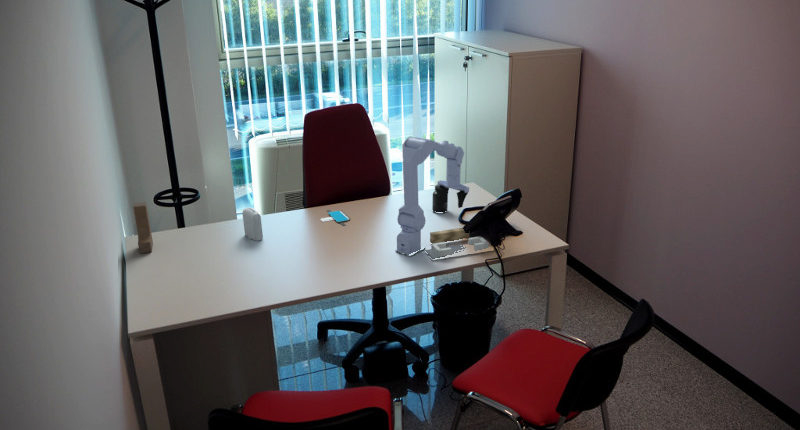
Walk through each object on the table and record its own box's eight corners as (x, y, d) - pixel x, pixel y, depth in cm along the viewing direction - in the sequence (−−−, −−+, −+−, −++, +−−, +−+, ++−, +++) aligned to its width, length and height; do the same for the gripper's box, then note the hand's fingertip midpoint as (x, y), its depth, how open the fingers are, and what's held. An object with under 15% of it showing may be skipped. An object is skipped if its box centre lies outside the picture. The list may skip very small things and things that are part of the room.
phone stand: (314, 214, 288) (314, 210, 287) (339, 209, 292) (338, 206, 292) (329, 229, 271) (329, 226, 270) (355, 224, 276) (355, 221, 275)
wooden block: (151, 252, 250) (144, 209, 243) (139, 254, 249) (131, 211, 242) (153, 243, 258) (146, 201, 251) (141, 244, 257) (134, 203, 250)
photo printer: (243, 234, 266) (240, 206, 261) (252, 231, 268) (249, 204, 264) (255, 242, 258) (252, 213, 254) (264, 239, 261) (261, 211, 256)
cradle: (432, 261, 241) (432, 252, 239) (424, 252, 248) (424, 244, 246) (494, 250, 248) (495, 242, 247) (485, 242, 255) (485, 234, 254)
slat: (432, 246, 253) (432, 234, 252) (430, 244, 255) (430, 232, 254) (469, 240, 258) (469, 229, 256) (466, 238, 260) (466, 227, 258)
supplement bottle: (447, 214, 284) (448, 188, 280) (432, 214, 285) (432, 188, 280) (447, 208, 291) (447, 183, 286) (432, 208, 291) (432, 183, 287)
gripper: (473, 175, 260) (472, 206, 265) (444, 168, 269) (444, 198, 274) (464, 179, 255) (463, 211, 260) (434, 172, 264) (434, 203, 269)
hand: (452, 205), depth 267 cm, fingers open, 7 cm apart
